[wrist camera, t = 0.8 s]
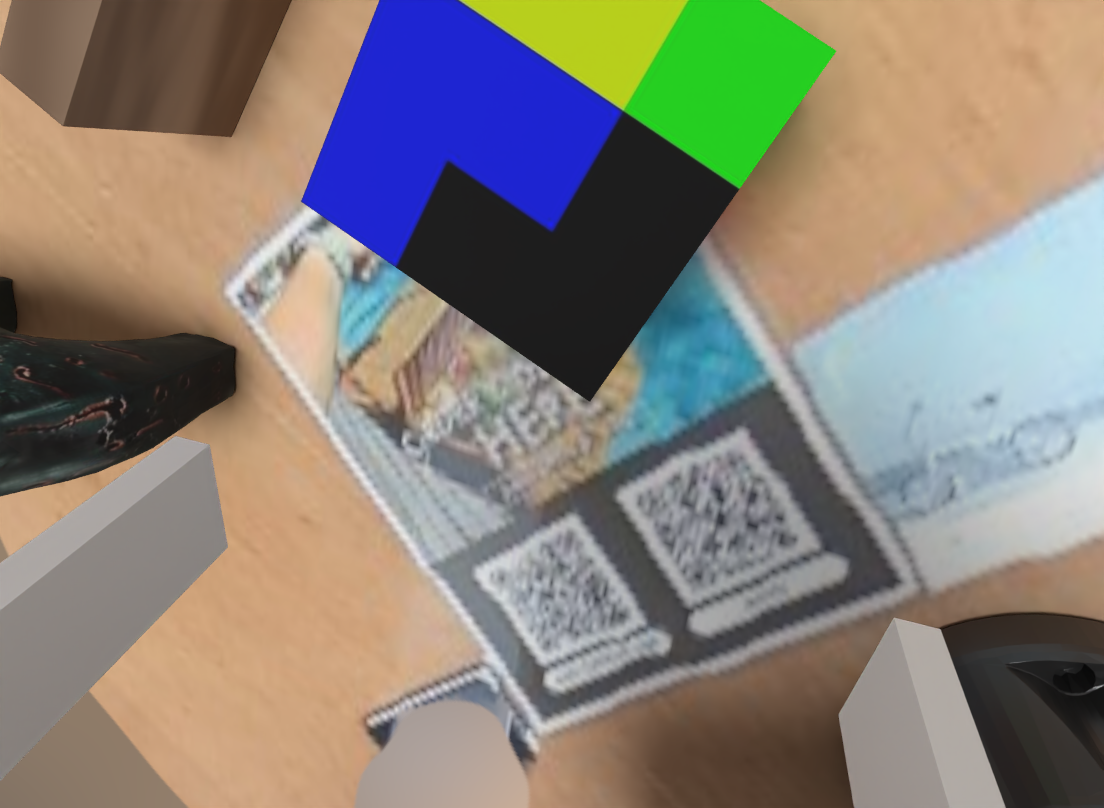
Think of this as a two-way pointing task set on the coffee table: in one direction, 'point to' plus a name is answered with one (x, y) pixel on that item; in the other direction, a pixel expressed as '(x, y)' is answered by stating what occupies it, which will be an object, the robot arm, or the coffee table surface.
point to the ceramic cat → (97, 398)
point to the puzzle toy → (556, 155)
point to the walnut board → (140, 60)
